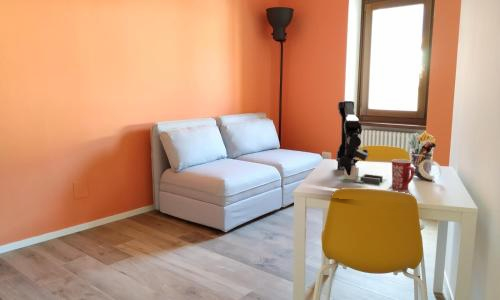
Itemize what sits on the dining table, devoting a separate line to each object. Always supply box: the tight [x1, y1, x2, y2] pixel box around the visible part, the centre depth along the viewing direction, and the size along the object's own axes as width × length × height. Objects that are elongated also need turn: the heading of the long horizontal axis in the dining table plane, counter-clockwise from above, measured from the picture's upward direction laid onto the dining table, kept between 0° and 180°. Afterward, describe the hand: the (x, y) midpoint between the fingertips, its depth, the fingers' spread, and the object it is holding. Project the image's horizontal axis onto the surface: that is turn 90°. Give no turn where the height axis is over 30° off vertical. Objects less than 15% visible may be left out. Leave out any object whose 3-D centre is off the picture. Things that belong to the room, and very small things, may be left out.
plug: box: [339, 164, 360, 180], centre depth 209 cm, size 10×4×7 cm, turn 59°
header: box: [360, 173, 384, 184], centre depth 204 cm, size 9×8×2 cm
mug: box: [391, 158, 415, 191], centre depth 195 cm, size 13×9×14 cm
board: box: [337, 175, 388, 188], centre depth 206 cm, size 21×16×2 cm
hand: (350, 174), depth 209 cm, fingers closed on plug, 3 cm apart
